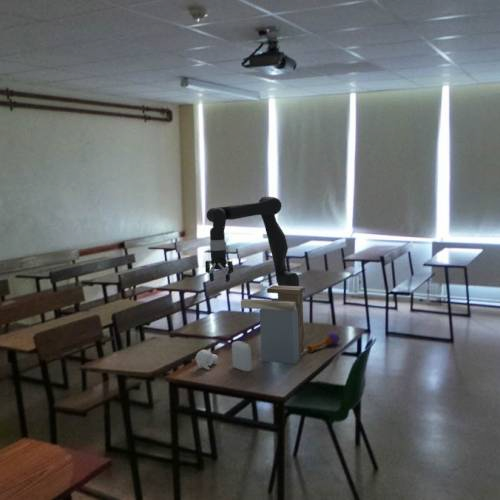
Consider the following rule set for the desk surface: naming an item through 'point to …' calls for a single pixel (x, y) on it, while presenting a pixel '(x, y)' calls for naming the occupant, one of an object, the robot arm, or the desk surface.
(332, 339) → the kendama
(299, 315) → the tan tall block
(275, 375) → the desk surface
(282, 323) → the grey block
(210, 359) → the white rabbit figurine
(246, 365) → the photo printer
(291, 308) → the wooden batten
